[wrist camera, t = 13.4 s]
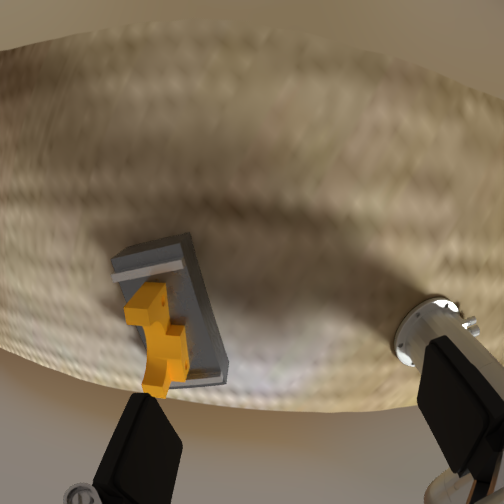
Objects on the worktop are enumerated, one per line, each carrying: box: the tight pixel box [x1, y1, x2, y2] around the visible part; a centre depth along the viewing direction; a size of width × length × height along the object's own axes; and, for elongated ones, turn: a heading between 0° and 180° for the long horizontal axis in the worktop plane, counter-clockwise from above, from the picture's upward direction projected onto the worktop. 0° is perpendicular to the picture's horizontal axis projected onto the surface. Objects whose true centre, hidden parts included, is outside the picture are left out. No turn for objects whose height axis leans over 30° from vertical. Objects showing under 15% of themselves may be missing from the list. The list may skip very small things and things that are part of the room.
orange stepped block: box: [124, 282, 190, 399], centre depth 32 cm, size 12×4×6 cm, turn 0°
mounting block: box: [111, 232, 229, 389], centre depth 36 cm, size 9×20×6 cm, turn 12°
